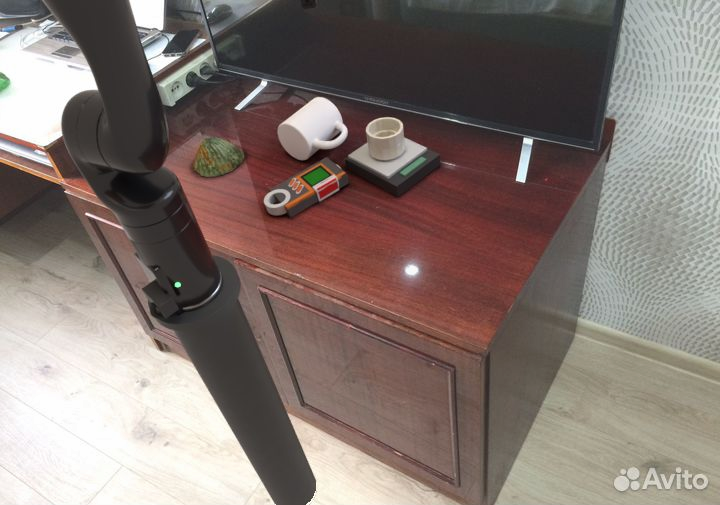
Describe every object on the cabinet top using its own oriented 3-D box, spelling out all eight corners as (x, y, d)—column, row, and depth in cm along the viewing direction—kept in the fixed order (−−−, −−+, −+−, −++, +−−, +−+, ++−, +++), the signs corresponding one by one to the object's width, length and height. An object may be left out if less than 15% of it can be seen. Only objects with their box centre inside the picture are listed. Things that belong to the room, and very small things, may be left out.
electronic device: (256, 195, 103) (327, 154, 107) (261, 207, 105) (331, 167, 109) (275, 214, 98) (348, 171, 103) (279, 226, 100) (351, 184, 105)
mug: (282, 154, 114) (272, 118, 109) (315, 127, 119) (307, 92, 114) (329, 172, 108) (322, 135, 103) (362, 143, 113) (356, 107, 108)
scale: (397, 197, 101) (396, 183, 99) (346, 169, 108) (344, 155, 106) (440, 165, 106) (439, 151, 104) (388, 140, 113) (386, 126, 111)
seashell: (197, 165, 108) (180, 140, 115) (203, 183, 111) (185, 158, 117) (248, 147, 111) (228, 124, 118) (252, 165, 114) (233, 142, 121)
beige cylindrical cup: (387, 166, 102) (384, 143, 99) (362, 153, 106) (358, 130, 103) (412, 148, 105) (410, 124, 102) (386, 136, 109) (384, 113, 105)
